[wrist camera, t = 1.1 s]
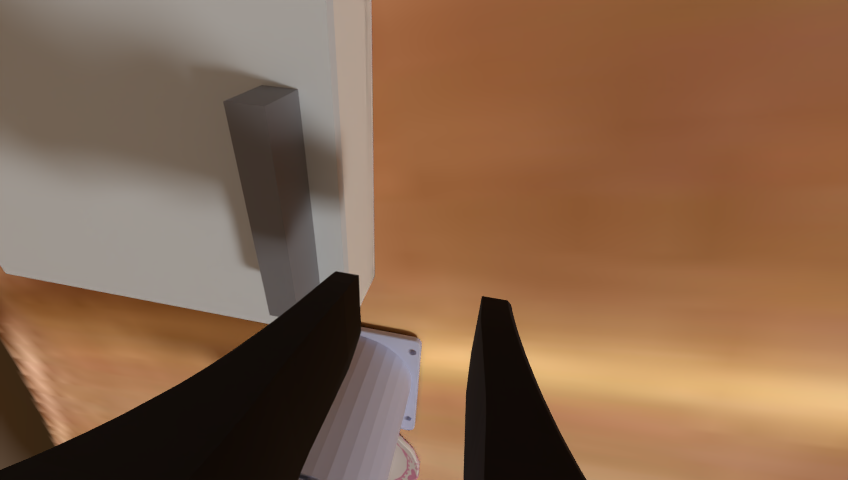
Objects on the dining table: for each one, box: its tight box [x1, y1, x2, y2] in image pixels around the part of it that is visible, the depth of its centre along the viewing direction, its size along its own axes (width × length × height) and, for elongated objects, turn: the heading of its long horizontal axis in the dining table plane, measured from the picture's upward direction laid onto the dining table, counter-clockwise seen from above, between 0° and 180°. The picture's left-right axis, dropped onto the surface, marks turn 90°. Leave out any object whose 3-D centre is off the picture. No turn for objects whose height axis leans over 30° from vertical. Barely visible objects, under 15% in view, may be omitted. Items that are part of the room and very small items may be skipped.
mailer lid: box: [0, 0, 349, 324], centre depth 15 cm, size 14×18×2 cm
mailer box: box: [333, 0, 375, 306], centre depth 18 cm, size 14×18×4 cm
